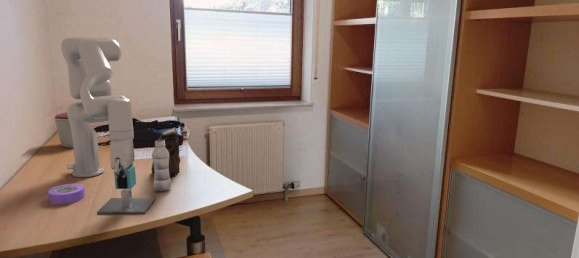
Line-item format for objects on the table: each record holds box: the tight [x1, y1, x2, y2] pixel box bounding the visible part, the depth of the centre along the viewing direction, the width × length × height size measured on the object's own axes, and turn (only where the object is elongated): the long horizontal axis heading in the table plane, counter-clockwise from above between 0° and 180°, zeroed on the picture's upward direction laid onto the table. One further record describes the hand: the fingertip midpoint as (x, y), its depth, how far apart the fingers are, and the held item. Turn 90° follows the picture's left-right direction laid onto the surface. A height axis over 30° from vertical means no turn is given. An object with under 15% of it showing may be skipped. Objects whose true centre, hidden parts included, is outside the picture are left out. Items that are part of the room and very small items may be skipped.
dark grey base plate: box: [96, 189, 156, 215], centre depth 141 cm, size 16×12×6 cm
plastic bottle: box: [151, 139, 172, 192], centre depth 155 cm, size 6×7×20 cm
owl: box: [151, 127, 181, 179], centre depth 174 cm, size 13×13×20 cm
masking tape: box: [47, 183, 86, 205], centre depth 148 cm, size 12×12×4 cm
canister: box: [52, 111, 91, 149], centre depth 218 cm, size 18×18×21 cm
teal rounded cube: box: [113, 165, 137, 190], centre depth 139 cm, size 5×5×7 cm
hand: (125, 184), depth 140 cm, fingers closed on teal rounded cube, 5 cm apart
